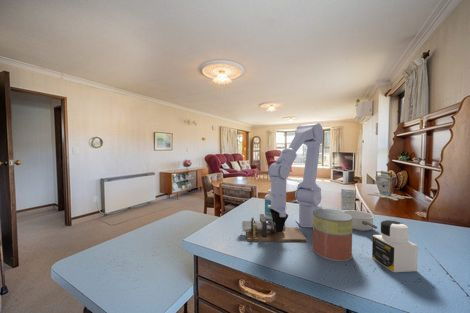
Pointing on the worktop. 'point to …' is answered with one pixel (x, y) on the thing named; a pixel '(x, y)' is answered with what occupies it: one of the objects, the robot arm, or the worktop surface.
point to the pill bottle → (267, 202)
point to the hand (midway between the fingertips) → (278, 229)
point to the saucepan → (361, 220)
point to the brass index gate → (253, 229)
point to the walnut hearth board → (279, 236)
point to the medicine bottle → (395, 247)
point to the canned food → (332, 234)
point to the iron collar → (263, 225)
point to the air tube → (259, 226)
